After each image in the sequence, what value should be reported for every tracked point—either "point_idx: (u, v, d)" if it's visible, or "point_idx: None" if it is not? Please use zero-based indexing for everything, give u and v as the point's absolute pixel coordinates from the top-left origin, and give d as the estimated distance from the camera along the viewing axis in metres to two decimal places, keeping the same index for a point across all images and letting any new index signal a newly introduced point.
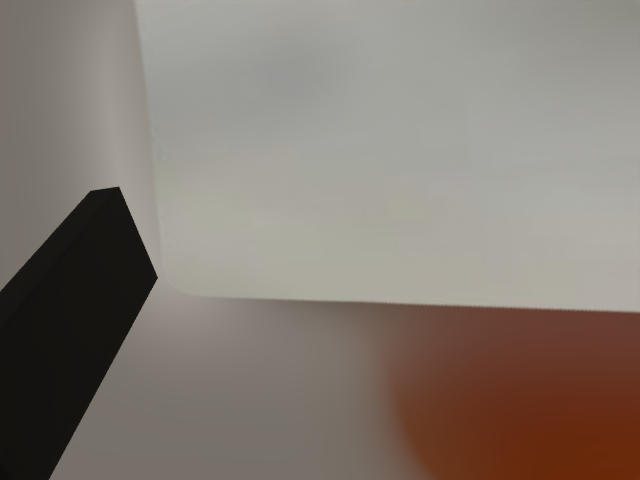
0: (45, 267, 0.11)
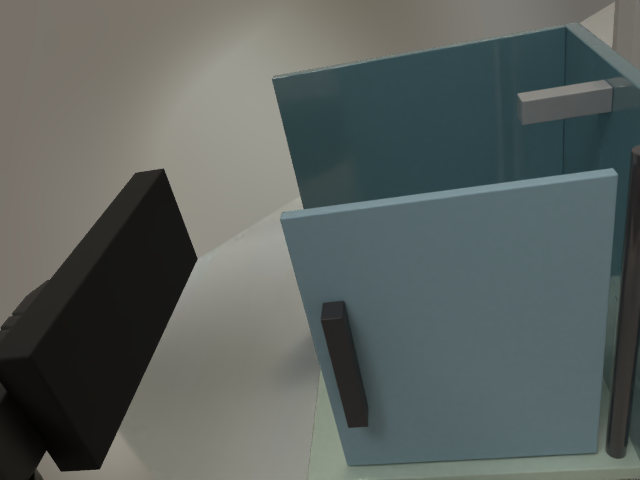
0: (103, 242, 0.11)
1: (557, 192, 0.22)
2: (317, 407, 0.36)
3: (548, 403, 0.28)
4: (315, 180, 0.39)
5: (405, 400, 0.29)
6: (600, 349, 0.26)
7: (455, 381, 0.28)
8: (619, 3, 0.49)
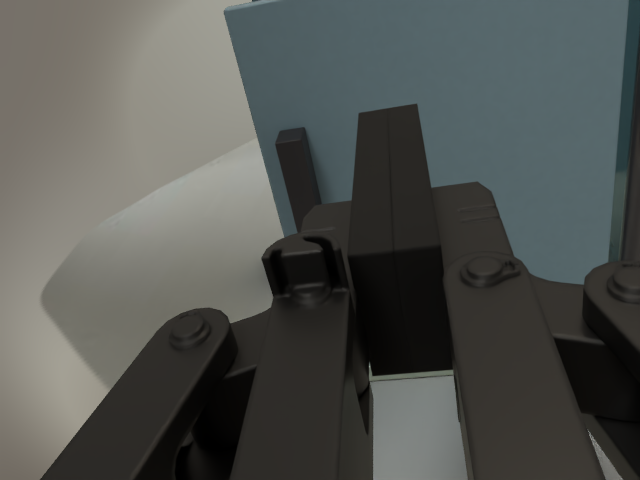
0: (380, 165, 0.12)
1: None
2: None
3: (546, 264, 0.24)
4: None
5: None
6: (609, 187, 0.22)
7: None
8: None
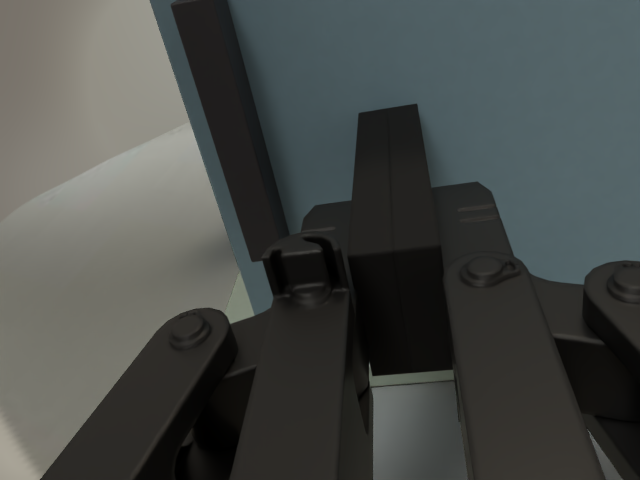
0: (380, 165, 0.12)
1: None
2: (236, 286, 0.24)
3: (600, 213, 0.16)
4: None
5: None
6: None
7: (438, 171, 0.16)
8: None
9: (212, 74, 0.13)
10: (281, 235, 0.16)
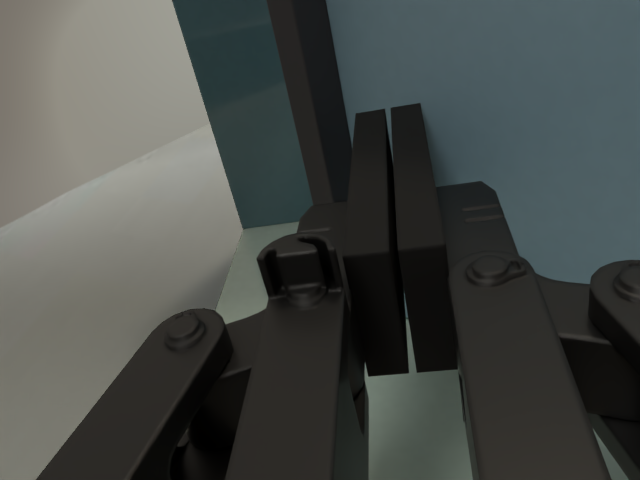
0: (376, 166, 0.12)
1: None
2: None
3: None
4: None
5: None
6: None
7: (486, 183, 0.15)
8: None
9: (286, 36, 0.15)
10: (337, 193, 0.17)
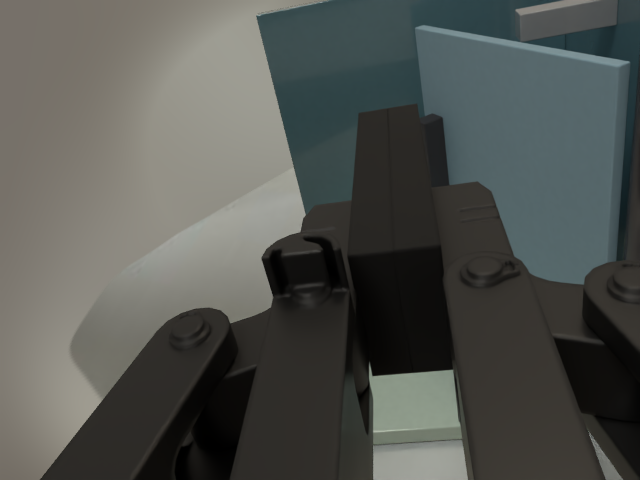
0: (380, 165, 0.12)
1: (569, 69, 0.22)
2: None
3: None
4: (304, 128, 0.37)
5: None
6: None
7: None
8: None
9: None
10: None
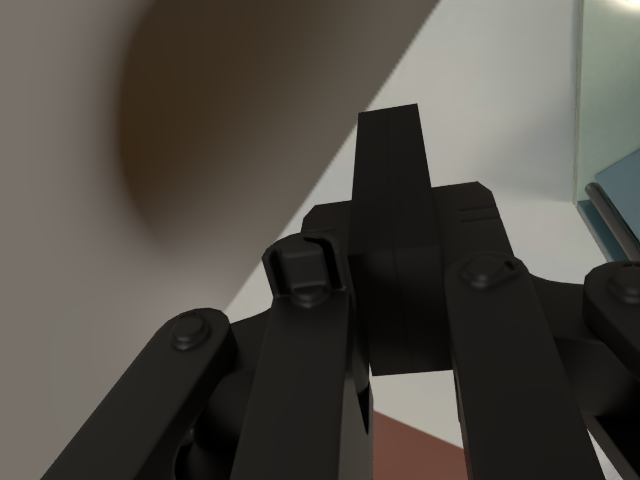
0: (380, 165, 0.12)
1: None
2: None
3: None
4: None
5: None
6: (633, 226, 0.36)
7: None
8: None
9: None
10: None
